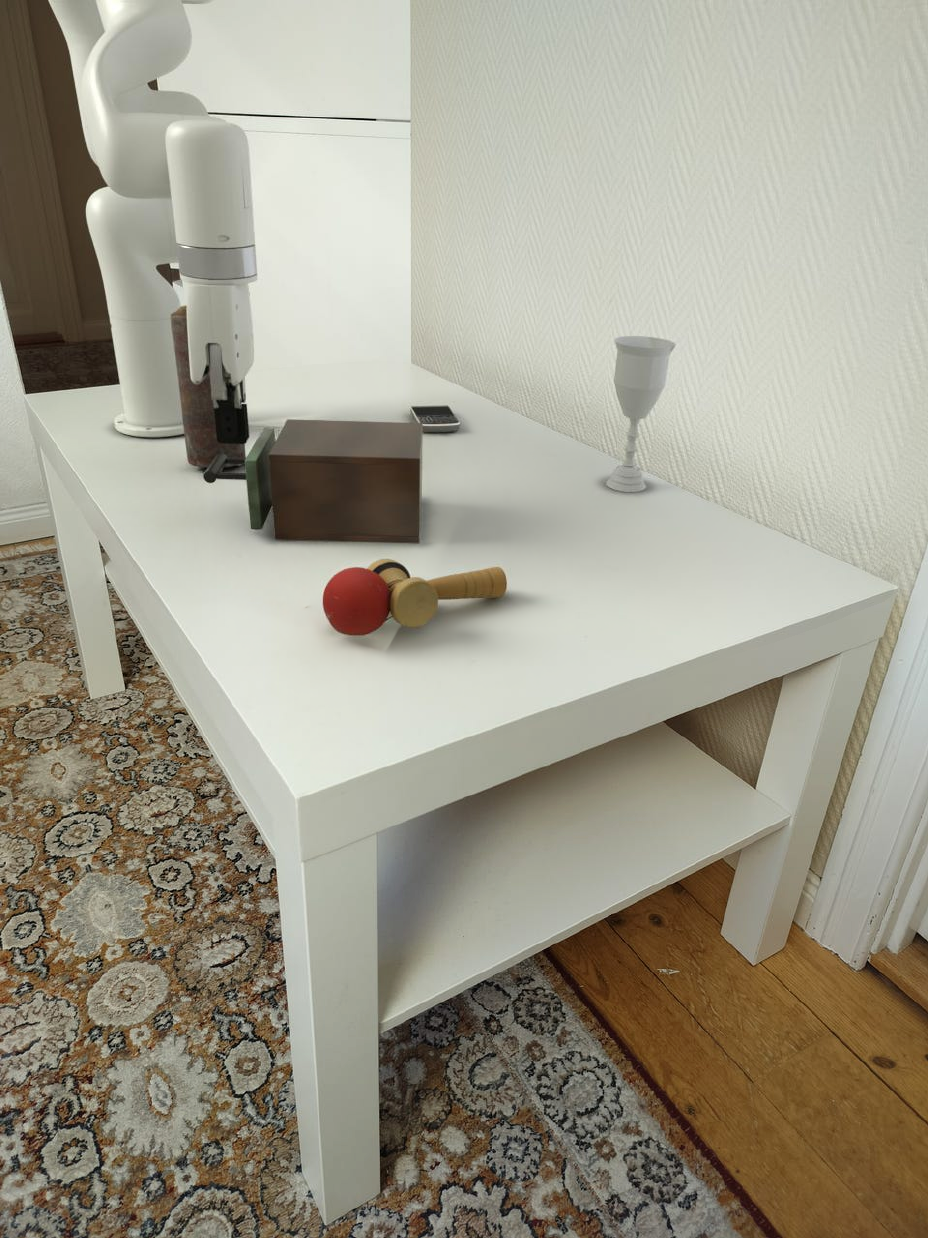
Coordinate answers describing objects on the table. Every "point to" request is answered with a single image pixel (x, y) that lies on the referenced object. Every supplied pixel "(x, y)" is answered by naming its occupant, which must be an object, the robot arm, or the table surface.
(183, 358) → the candle
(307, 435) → the cabinet
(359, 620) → the kendama
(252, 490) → the drawer
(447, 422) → the cell phone
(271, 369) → the table surface
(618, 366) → the chalice
